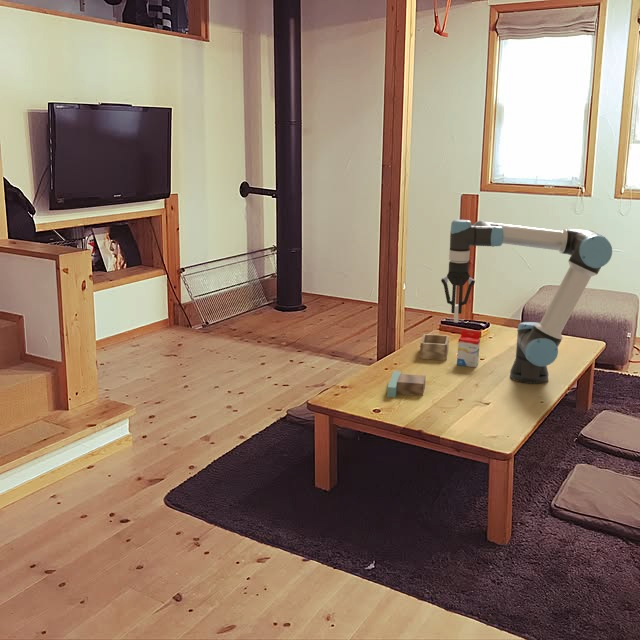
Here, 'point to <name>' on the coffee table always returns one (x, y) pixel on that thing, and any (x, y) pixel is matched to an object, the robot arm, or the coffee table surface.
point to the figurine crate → (434, 347)
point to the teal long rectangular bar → (393, 384)
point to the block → (411, 384)
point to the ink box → (468, 348)
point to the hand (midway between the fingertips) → (455, 321)
